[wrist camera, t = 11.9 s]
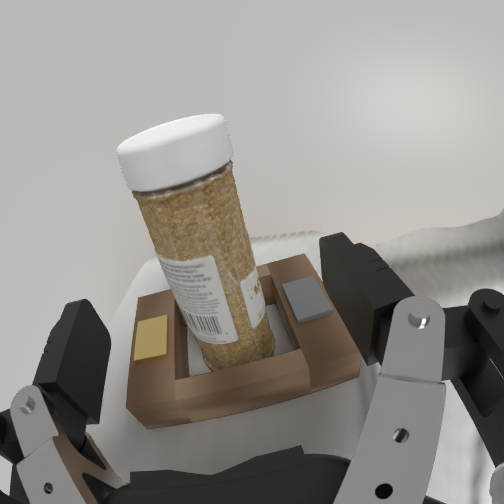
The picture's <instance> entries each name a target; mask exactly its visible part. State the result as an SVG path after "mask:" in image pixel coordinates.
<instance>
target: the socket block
mask: <svg viewBox="0 0 504 504" xmlns="http://www.w3.org/2000/svg"><path fill="white" fill-rule="evenodd" d="M256 268H257V272H258V276H259V280H260V284H261V288H262V292H263V297H264V301H265V305H269V304H272V303H277V306H278V309H279V311H280V314H281V316H282V319H283V322H284V324H285V327H286V329H287V332H288V334H289V337H290V340H291V342H292V345H293V347H294V351H291V352H287V353H284V354H281V355H277V356H274V357H270V358H266V359H263V360H259V361H255V362H252V363H248V364H244V365H240V366H236V367H232V368H228V369H224V370H219V371H215V372H211V373H206V374H202V375H197V376H193V377H189V366H188V349H187V329H186V326H188V324H187V322H186V320H185V318H184V316H183V314H182V312H181V310H180V307H179V305H178V303H177V301H176V299H175V297H174V294H173V292H172V290H171V289H170V290H166V291H163V292H159V293H155V294H151V295H147V296H143V297H139V298H138V304H137V310H136V317H135V324H134V332H133V340H132V348H131V356H130V366H129V376H128V387H127V400H126V408H127V409H128V410H129V411H130V412H131V413H132V414H133V415H134V416H135V417H136V418H137V419H138V420H139V421H140V422H141V423H142V424H143V425H144V426H145V427H146V428H147V429H151V428H159V427H166V426H173V425H179V424H186V423H191V422H197V421H203V420H208V419H213V418H218V417H223V416H227V415H232V414H236V413H241V412H245V411H249V410H253V409H257V408H261V407H265V406H269V405H272V404H276V403H280V402H283V401H287V400H290V399H294V398H297V397H300V396H303V395H307V394H310V393H313V392H316V391H319V390H322V389H325V388H328V387H331V386H334V385H337V384H339V383H342V382H345V381H348V380H350V379H353V378H356V377H358V376H359V370H360V362H361V353H360V351H359V350H358V348H357V346H356V344H355V342H354V340H353V339H352V337H351V335H350V333H349V331H348V330H347V328H346V326H345V324H344V323H343V321H342V319H341V317H340V315H339V314H338V312H337V310H336V308H335V307H334V305H333V303H332V301H331V300H330V298H329V296H328V294H327V292H326V290H325V287H324V284H323V282H322V281H321V279H320V278H319V276H318V274H317V273H316V271H315V269H314V268H313V266H312V265H311V263H310V261H309V260H308V258H307V257H306V255H305V253H304V254H301V255H297V256H293V257H290V258H286V259H283V260H279V261H275V262H272V263H268V264H264V265H261V266H257V267H256ZM309 276H314V278H315V280H316V281H317V283H318V285H319V286H320V288H321V290H322V291H323V293H324V295H325V297H326V298H327V300H328V302H329V303H330V305H331V307H332V309H333V313H332V314H329V315H326V316H322V317H319V318H316V319H313V320H310V321H306V322H303V323H300V324H298V323H297V320H296V318H295V316H294V314H293V311H292V309H291V307H290V304H289V302H288V300H287V297H286V295H285V293H284V291H283V288H282V284H285V283H289V282H292V281H296V280H299V279H303V278H306V277H309ZM164 315H168V317H169V337H168V357H167V358H163V359H158V360H153V361H148V362H143V363H137V364H136V363H135V362H134V361H133V360H134V350H135V341H136V333H137V325H138V321H143V320H147V319H151V318H155V317H159V316H164Z"/></svg>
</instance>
